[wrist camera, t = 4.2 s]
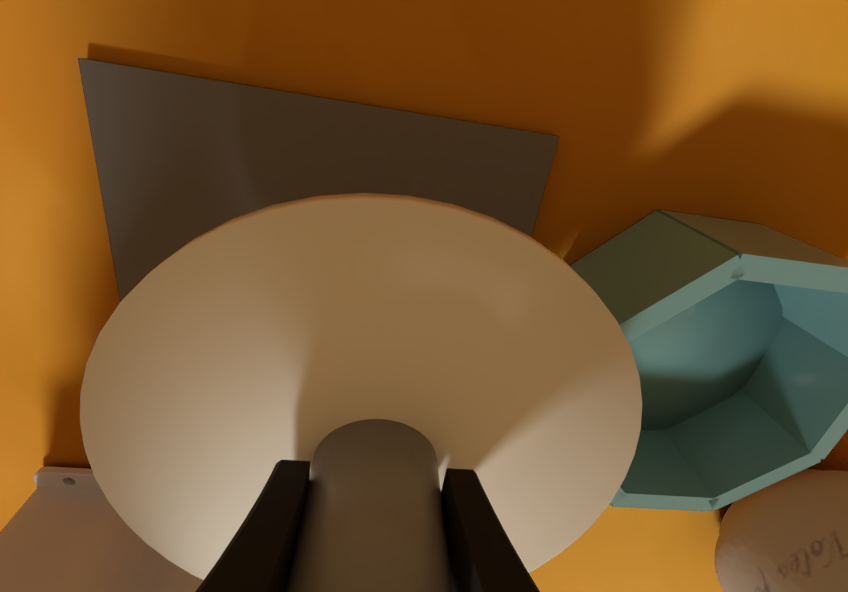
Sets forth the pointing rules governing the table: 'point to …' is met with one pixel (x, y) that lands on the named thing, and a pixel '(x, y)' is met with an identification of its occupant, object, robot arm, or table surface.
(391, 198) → the lid
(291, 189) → the mat
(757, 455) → the bowl
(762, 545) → the teacup
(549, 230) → the table surface
